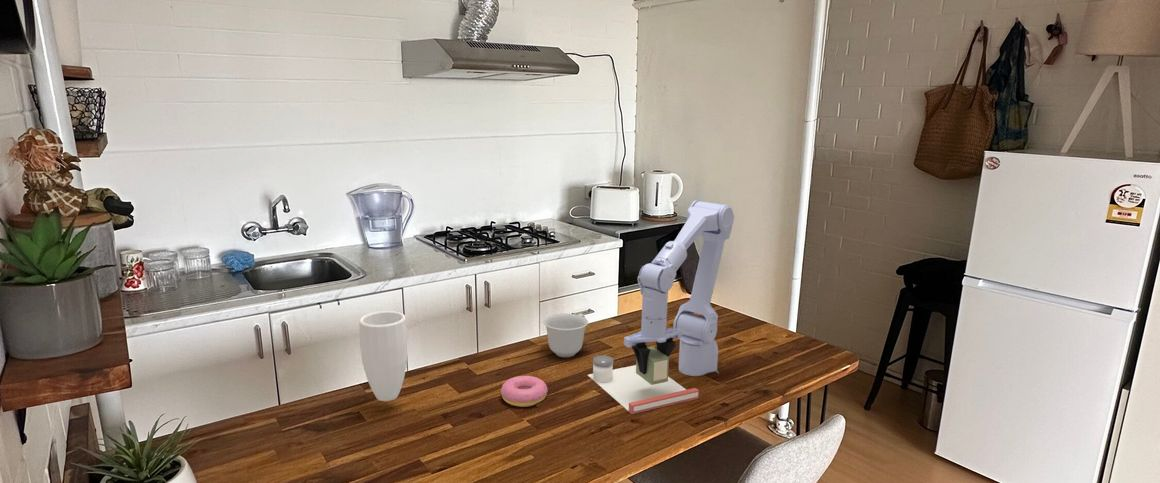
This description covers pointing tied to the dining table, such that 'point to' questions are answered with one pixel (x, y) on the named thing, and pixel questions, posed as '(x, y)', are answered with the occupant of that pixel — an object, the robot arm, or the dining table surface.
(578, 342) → the teacup
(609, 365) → the spice jar
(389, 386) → the white vase
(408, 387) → the dining table surface
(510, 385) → the doughnut
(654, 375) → the carton
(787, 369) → the dining table surface
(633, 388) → the shelf board
